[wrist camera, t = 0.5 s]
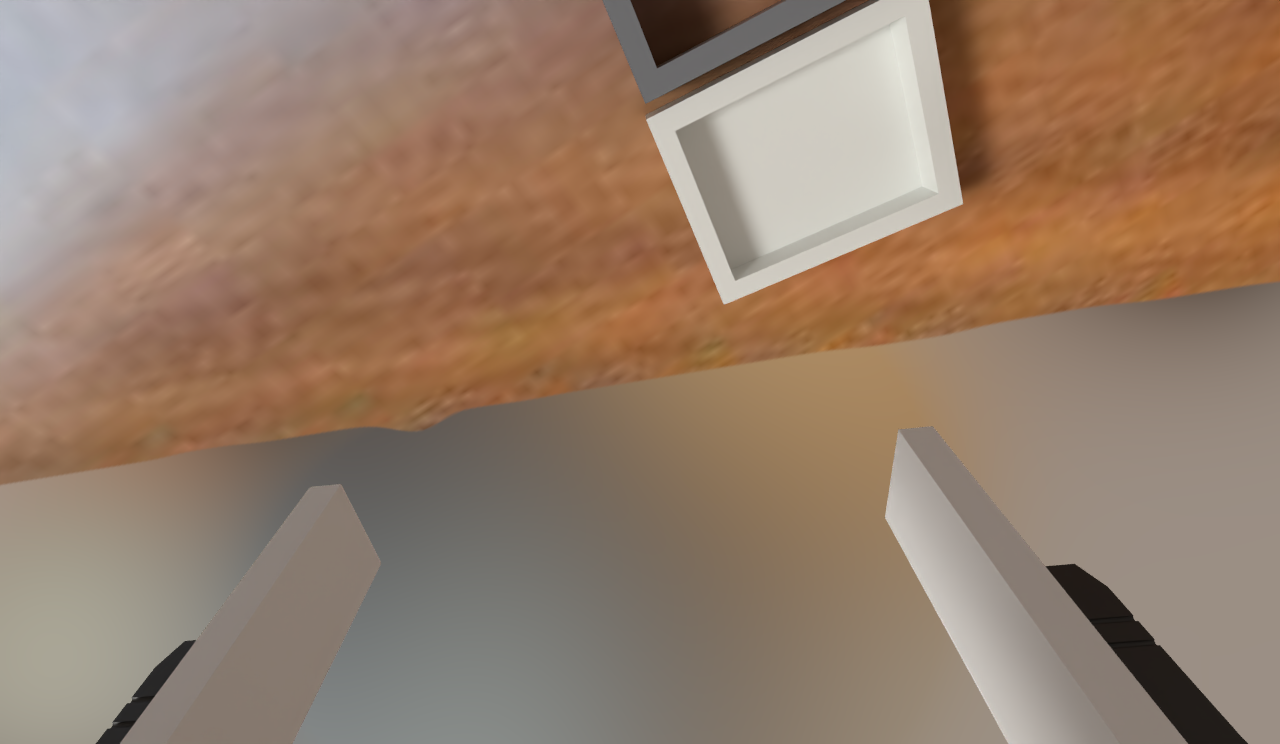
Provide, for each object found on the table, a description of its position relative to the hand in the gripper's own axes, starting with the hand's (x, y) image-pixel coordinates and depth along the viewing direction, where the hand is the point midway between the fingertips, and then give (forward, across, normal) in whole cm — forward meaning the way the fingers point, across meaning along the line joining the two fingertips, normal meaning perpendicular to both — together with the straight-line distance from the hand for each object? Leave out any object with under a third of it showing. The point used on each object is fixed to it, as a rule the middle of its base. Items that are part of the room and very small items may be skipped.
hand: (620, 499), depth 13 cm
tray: (+26, +11, +3) cm, 28 cm away
